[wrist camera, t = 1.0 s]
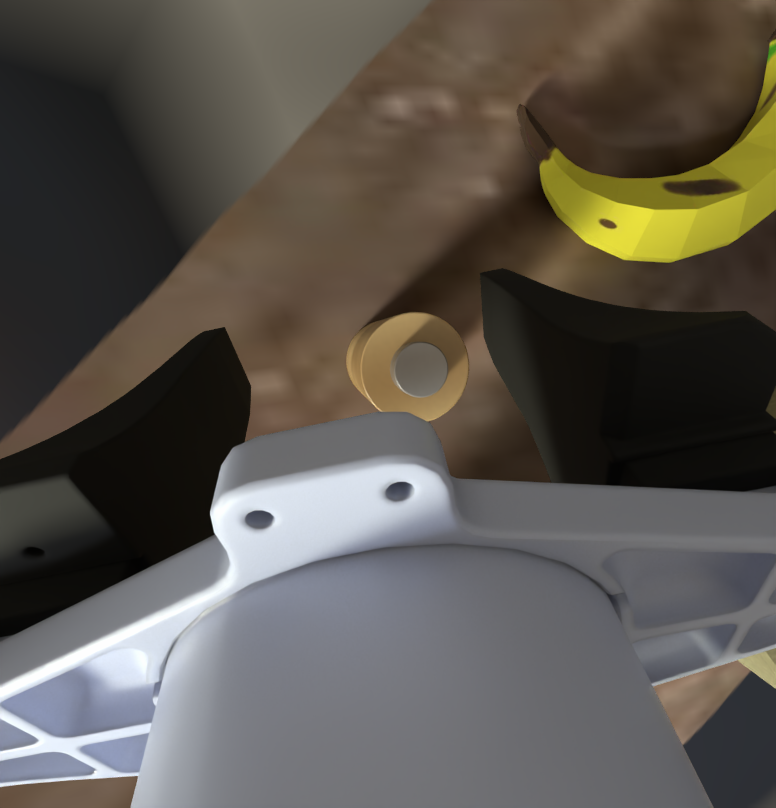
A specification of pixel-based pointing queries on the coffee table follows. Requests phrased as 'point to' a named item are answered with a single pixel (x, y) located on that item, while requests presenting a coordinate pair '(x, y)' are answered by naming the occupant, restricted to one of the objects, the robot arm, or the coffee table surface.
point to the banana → (666, 192)
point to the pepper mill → (409, 364)
